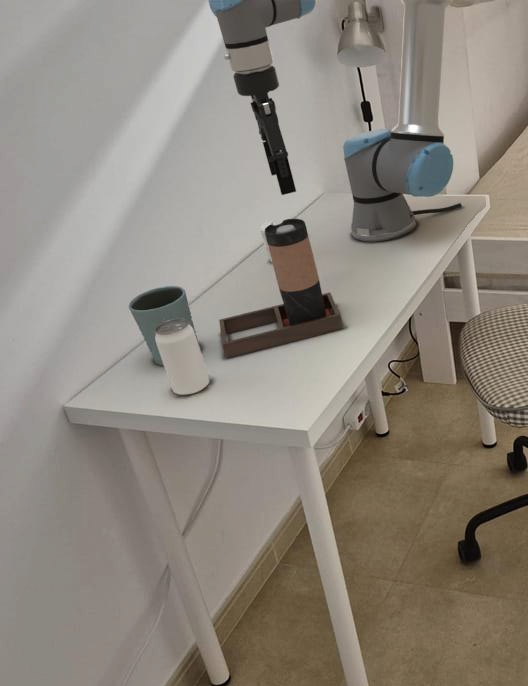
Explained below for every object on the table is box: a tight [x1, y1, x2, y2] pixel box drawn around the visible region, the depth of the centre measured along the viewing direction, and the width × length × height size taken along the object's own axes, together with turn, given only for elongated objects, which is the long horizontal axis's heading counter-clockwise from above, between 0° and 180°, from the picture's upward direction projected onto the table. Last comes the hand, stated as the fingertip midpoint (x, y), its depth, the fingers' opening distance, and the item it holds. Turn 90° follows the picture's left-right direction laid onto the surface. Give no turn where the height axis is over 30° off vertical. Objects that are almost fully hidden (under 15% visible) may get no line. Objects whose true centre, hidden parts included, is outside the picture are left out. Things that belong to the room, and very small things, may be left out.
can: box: [155, 318, 210, 396], centre depth 149 cm, size 6×6×12 cm
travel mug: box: [265, 218, 327, 326], centre depth 163 cm, size 8×8×20 cm
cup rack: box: [218, 291, 344, 359], centre depth 166 cm, size 11×22×3 cm, turn 107°
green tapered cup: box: [128, 285, 201, 367], centre depth 161 cm, size 10×10×12 cm
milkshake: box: [258, 220, 279, 263], centre depth 197 cm, size 5×5×10 cm
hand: (283, 183), depth 165 cm, fingers open, 13 cm apart
